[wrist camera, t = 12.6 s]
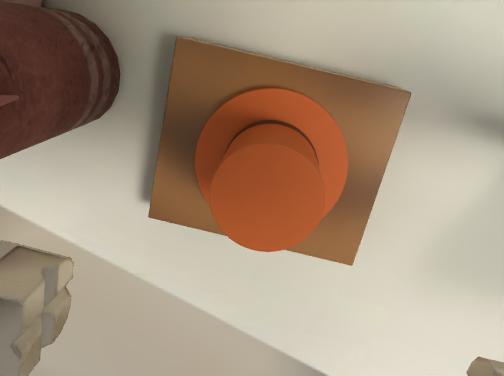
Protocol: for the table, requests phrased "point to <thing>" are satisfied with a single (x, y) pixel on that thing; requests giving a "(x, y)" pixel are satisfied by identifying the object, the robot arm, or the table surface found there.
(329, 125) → the hat
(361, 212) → the brown wooden slab
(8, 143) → the can
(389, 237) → the table surface
